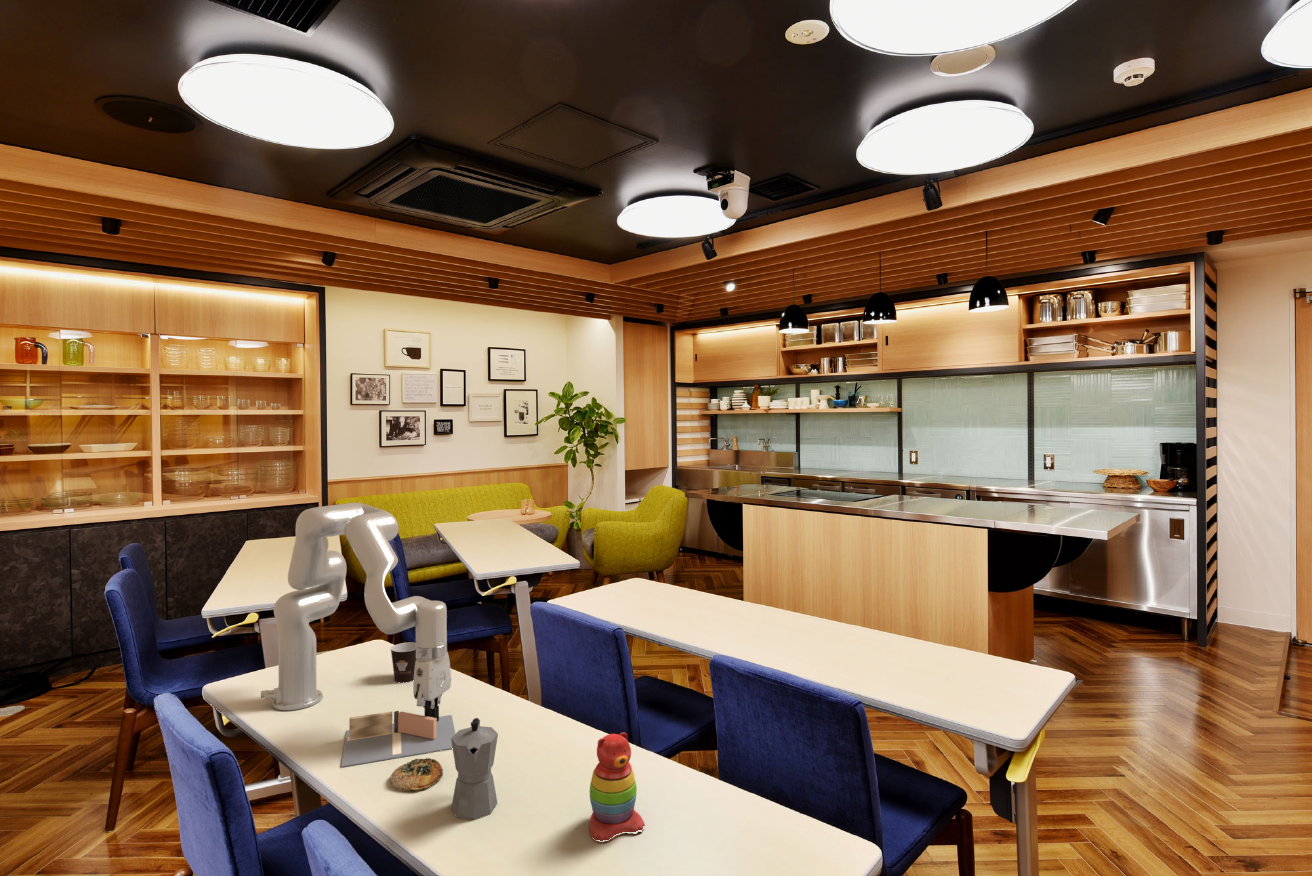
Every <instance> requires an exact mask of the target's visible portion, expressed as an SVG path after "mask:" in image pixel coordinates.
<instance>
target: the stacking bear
mask: <svg viewBox="0 0 1312 876" xmlns="http://www.w3.org/2000/svg"><path fill="white" fill-rule="evenodd" d="M628 737H629V736H628V734H627V733H626V732H620V733H619V734H617V733H609V734H606V735H605V736H603V737H602V738H599V739H598V741H597V745H596V746H597V747H596V757H597V759H598V763H597V765H596V766H595V767H594V769H593V771H592V774H591V775H592V776H591V781H590V785H589V799H590V800H589V801H590V805H591V810H592V813H591V815H590V818H589V822H588V826H589V827H588V829H589V830H588V831H589V834H590V837H591V838H592V837H593V838H594V839H595V840H600V841H603V840H609V839H610V838H612V837H613V836H614V835H616V834H619V833H622V832H636V831H638V830H642V829H643V826H646V824H645V821H644V819H643V818H642V816H641V814H639V812H637V811H636V810H635V805H636V804H635V803H636V800H637V791H638V790H637V782H636V778H635V773H634V771H633V767H632V764H631V763H630V759H631V758H632V757H631V756H632V747H631V745H630V742H629V741H628ZM593 838H592V839H593ZM594 839H593V840H594ZM595 840H594V841H595Z"/></svg>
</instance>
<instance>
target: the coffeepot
mask: <svg viewBox="0 0 1312 876" xmlns="http://www.w3.org/2000/svg"><path fill="white" fill-rule="evenodd" d="M480 721H481V720H480V718H478V717H475V718H473V719H472V721H471V722H470V727H466V728H462V729H458V731H456V732H455V735H454V736H453V737H452V738H451V741H452V748H453V749H452V753H453V760H454V765H455V766H454V767H455V770H456V772H457V777H456V780H455V784H454V789H453V791H454V792H453V795H452V802H451V810H452V813H453V815H454V816H455V815H456V816H455V817H456V818H459V819H461V820H468V819H470V820H478V819H481V818H484V817H486V816H488V815H489V813H490V814H491V813H492V812H493V811H494V810H495V809H494V808H496V806H497V805H498V797H497V793H496V787H495V781H494V776H493V773H492V767H493V766H494V763H495V757H496V749H497V742H498V735H499V733H498V732H497V731H496V730H495V729H494V728H493V727H492V726H482V725H480V724H481V723H480ZM493 809H494V810H493ZM487 814H488V815H487ZM485 815H486V816H485ZM483 816H484V817H483ZM480 817H481V818H480ZM477 818H478V819H477Z"/></svg>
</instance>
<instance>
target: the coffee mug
mask: <svg viewBox="0 0 1312 876" xmlns="http://www.w3.org/2000/svg"><path fill="white" fill-rule="evenodd" d="M390 652H391V654H390V655H391V663H392V670H393V676H394V682H395V681H397V682H396V683H398V682H400V683H399V684H405V683H406V682H407V683H411V682H414V681H413V680H414V669H415V662H416V660H417V659H416V642H403V643H402V642H401V643H398V644H394V645H393V646H391V647H390ZM410 681H411V682H410ZM403 682H404V683H403ZM407 683H406V684H407Z"/></svg>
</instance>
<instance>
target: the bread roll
mask: <svg viewBox="0 0 1312 876" xmlns="http://www.w3.org/2000/svg"><path fill="white" fill-rule="evenodd" d="M443 772H444V771H443V767H442V765H441V763H440V762H439V761H438V760H436V759H434V758H430V757H426V758H414V759H413V760H411V761H408V762H406V763H403V764H402V765H400V766H398V767H397V768H396V769H394V771H392V773H391V774H390V784H391V785H392V786H393V787H394V788H395V789H397V790H399V791H403V792H405V791H408V792H410V791H416V792H419V791H424V790H427V789H429V788H431V787H433V786H434V784H435V785H436V784H437V783H438V782H439V781H440V780H441V778H442V777H443V776H444V773H443ZM432 785H433V786H432ZM430 786H431V787H430Z"/></svg>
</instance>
